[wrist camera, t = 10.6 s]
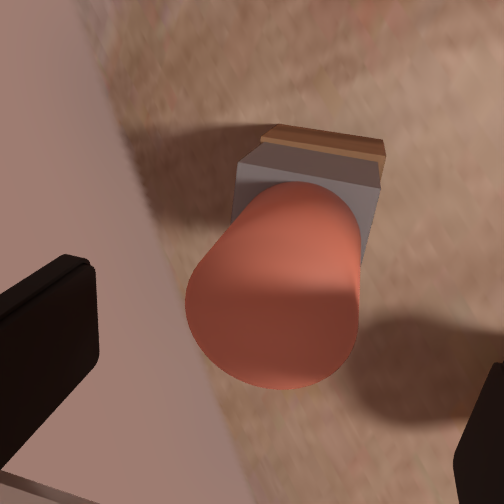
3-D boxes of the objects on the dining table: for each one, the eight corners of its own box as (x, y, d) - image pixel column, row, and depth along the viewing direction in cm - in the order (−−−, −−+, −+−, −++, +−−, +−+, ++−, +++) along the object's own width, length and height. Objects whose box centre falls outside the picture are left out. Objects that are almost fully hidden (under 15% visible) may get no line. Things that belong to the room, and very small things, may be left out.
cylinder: (244, 171, 18) (190, 219, 12) (374, 194, 17) (377, 256, 11) (231, 283, 20) (180, 366, 14) (346, 308, 19) (338, 407, 13)
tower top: (264, 141, 22) (238, 162, 17) (377, 162, 21) (380, 188, 17) (249, 244, 24) (223, 285, 20) (351, 266, 23) (348, 314, 19)
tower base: (279, 123, 26) (261, 136, 22) (382, 139, 25) (386, 156, 21) (266, 219, 29) (247, 248, 24) (360, 237, 28) (358, 270, 23)
